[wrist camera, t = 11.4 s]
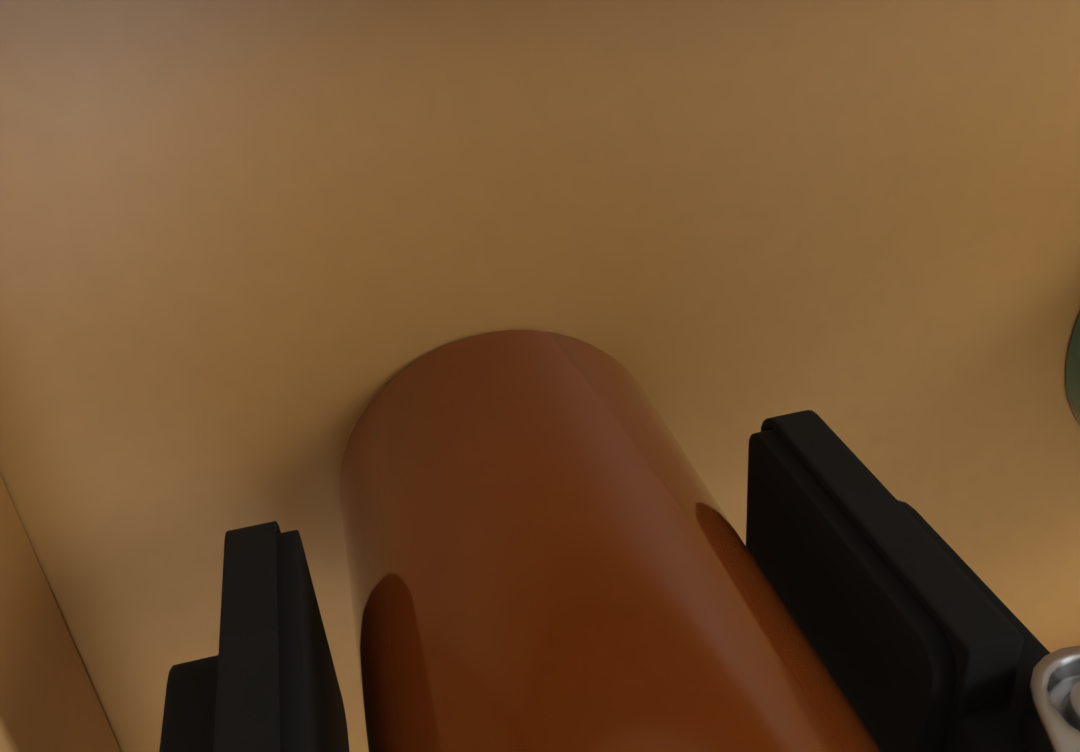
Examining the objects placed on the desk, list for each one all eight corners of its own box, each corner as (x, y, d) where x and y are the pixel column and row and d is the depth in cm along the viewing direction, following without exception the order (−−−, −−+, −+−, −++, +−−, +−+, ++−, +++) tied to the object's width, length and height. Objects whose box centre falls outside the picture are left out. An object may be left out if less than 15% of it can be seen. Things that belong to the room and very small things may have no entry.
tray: (-327, -126, 9) (-570, -102, 6) (1709, -321, 13) (2080, -355, 10) (151, 901, 17) (130, 1101, 14) (1327, 591, 21) (1481, 704, 18)
